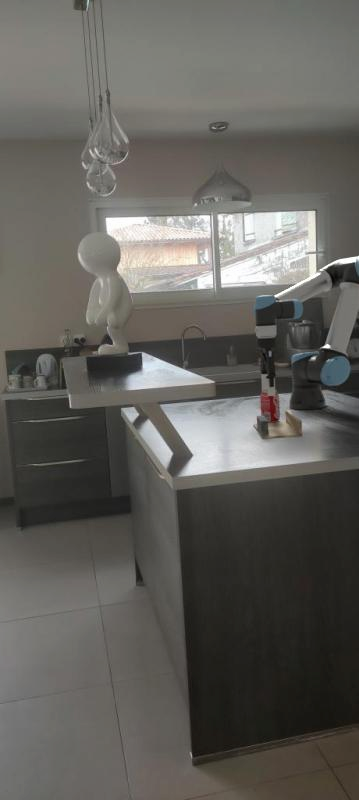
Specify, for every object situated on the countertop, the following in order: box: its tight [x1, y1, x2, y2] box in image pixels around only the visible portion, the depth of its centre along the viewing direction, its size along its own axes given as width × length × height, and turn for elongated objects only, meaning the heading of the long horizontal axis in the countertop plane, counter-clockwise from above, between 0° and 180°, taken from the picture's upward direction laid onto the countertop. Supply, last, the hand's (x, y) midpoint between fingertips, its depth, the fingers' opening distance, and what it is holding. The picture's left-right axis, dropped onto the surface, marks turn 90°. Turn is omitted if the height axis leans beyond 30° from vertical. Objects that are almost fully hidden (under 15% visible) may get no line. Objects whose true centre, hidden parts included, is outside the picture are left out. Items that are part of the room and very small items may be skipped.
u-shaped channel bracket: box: [253, 409, 303, 440], centre depth 206 cm, size 13×22×6 cm, turn 1°
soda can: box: [260, 389, 281, 423], centre depth 221 cm, size 7×7×12 cm
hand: (268, 393), depth 220 cm, fingers open, 13 cm apart
